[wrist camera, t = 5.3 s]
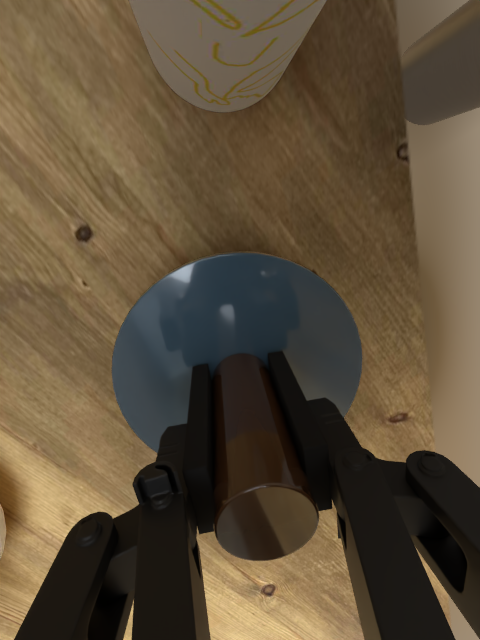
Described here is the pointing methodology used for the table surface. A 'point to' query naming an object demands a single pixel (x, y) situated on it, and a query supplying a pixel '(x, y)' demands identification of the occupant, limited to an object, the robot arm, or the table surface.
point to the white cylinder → (223, 46)
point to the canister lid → (240, 382)
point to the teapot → (2, 531)
